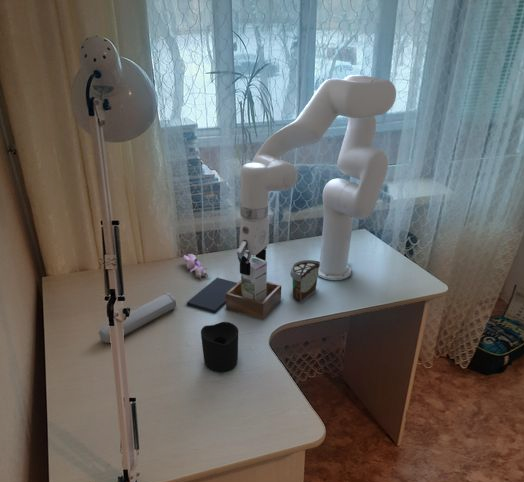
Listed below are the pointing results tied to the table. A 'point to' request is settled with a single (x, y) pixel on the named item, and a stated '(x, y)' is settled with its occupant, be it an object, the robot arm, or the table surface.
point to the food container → (304, 278)
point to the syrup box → (255, 280)
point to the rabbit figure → (195, 266)
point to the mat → (212, 295)
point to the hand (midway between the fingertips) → (252, 267)
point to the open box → (253, 301)
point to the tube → (143, 315)
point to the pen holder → (220, 346)
